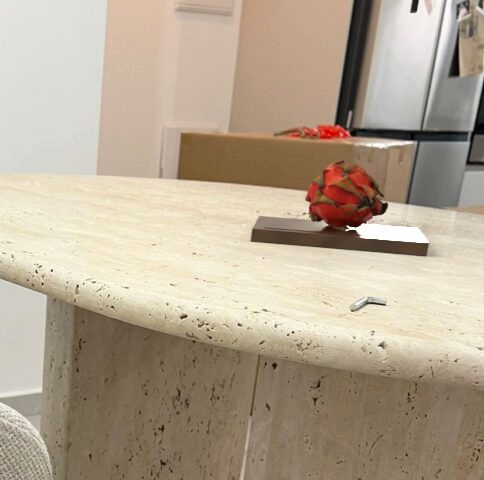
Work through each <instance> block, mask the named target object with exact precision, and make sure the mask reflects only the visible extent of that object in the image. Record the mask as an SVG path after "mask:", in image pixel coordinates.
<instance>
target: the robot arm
mask: <svg viewBox="0 0 484 480" xmlns="http://www.w3.org/2000/svg"><path fill="white" fill-rule="evenodd" d="M419 2H420V0H411V4H410V10H409V13H410V14H416V13H417V12H418V10H419Z"/></svg>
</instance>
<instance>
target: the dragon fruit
mask: <svg viewBox="0 0 484 480" xmlns="http://www.w3.org/2000/svg"><path fill="white" fill-rule="evenodd" d="M344 162H346V161H345V159H344V160H343V159H342V160H336V161H333V162H332V163H330V164H329V165H328V166H326V167H325V168H324V169H323V170H322V171H321V172H319V173H318V174H317V175H316V177H315V178H314V179H313V180H312V181H311V183H310V184H309V186H308V189H307V192H306V195H305V198H304V200H305V202H307V203H309V206H308V213H309V218H310V220H312V221H313V222H314V221H317V222H320V221H324V222H325V223H326V224H328V225H330V226H331V227H332V228H333V229H336V230H340V231H341V230H350V229H349V228H348V227H347V226H349V227H351V228H358V227H360V226H362V225H363V224H367V222H369V221H370V220H372V219H373V218H374V217H378V216H382V215H384V214H386V212H387V210H388V209H389V202H386V201H385V202H383V201H382V200H381V199H380V198H378V197H377V196H378V195H379V196H380V197H381V198H385V195H384V194H383V193H382V192H381V191H380V190H379V187H380V185H379V183H378V182H377V180H376V179H374V177H373V176H372V175H370V174H368V172H367V170H365V169H364V168H363V167H362V166H360V165H359V164H358V163H354V162H353V163H349V164H345V163H344Z"/></svg>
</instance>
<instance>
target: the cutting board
mask: <svg viewBox="0 0 484 480" xmlns="http://www.w3.org/2000/svg"><path fill="white" fill-rule="evenodd" d="M347 227H348V228H349V229H350V230H341V231H340V230H336V229H333V228H332V227H331V226H330V225H328V224H326V223H325V222H324V220H322V221H320V222H317V221H314V222H313V221H312V220H311V219H304V218H292V217H278V216H267V215H259V216H258V218H257V220H256V221H255V223H254V225H253V226H252V229H251V234H250V235H251V236H250V242H257V243H267V244H268V243H269V244H283V245H292V246H293V245H294V246H302V247H303V246H305V247H316V248H317V247H318V248H327V249H328V248H329V249H339V250H349V251H351V250H352V251H361V252H362V251H364V252H375V253H388V254H399V255H409V256H410V255H412V256H422V257H427V256H428V251H429V246H430V242H429V241H428V240H427V238H426V237H425V235H424V234H423V233H422V231H421V230H420V229H419V228H418V227H408V226H407V227H406V226H396V225H395V226H394V225H381V224H367V223H366V224H363V225H362V226H360V227H358V228H351V227H349V226H347Z"/></svg>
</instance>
